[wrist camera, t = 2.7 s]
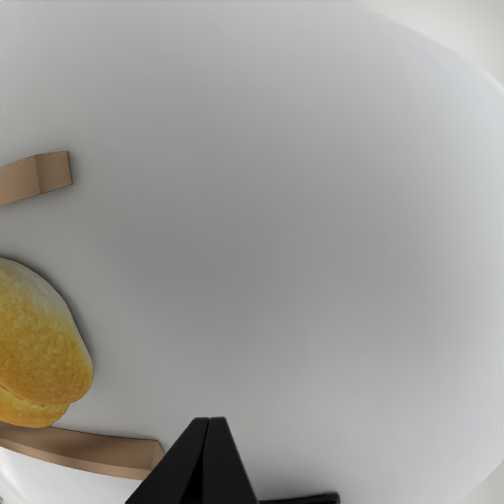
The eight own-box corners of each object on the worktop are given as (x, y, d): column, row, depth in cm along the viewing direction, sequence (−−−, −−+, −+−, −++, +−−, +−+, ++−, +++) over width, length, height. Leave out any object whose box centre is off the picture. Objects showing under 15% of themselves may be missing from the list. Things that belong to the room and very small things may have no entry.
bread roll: (128, 343, 12) (93, 411, 8) (53, 417, 14) (26, 465, 10) (-4, 206, 10) (-69, 234, 7) (-45, 319, 12) (-84, 354, 9)
